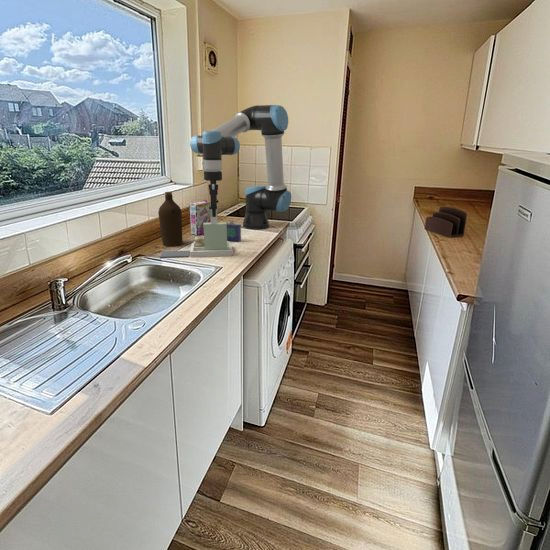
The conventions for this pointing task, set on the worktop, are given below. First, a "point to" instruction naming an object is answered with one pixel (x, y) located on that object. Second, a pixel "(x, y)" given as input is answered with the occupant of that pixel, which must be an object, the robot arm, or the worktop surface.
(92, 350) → the worktop surface
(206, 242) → the panel
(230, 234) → the flask
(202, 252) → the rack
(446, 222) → the letter holder
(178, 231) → the olive oil
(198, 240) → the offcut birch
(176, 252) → the mat
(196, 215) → the candy bar box
